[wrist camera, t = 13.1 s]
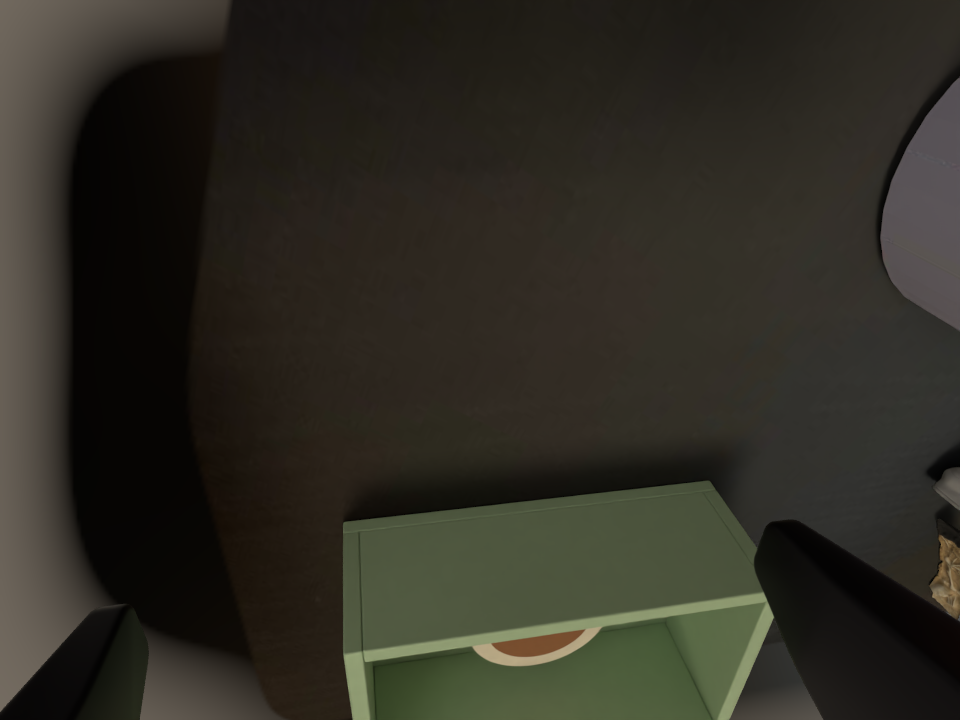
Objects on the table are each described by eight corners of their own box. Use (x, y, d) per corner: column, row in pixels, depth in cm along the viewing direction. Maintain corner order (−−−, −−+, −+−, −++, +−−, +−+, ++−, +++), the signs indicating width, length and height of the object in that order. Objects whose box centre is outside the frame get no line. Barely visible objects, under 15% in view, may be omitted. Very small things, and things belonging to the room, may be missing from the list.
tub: (360, 663, 29) (364, 797, 25) (342, 521, 24) (343, 654, 20) (669, 617, 32) (725, 730, 27) (709, 479, 27) (786, 589, 22)
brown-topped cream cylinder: (442, 625, 28) (447, 665, 26) (490, 529, 25) (500, 567, 24) (562, 634, 30) (574, 671, 28) (619, 545, 27) (636, 581, 26)
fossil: (946, 506, 31) (932, 515, 31) (983, 534, 30) (968, 542, 29) (937, 593, 36) (924, 600, 35) (969, 620, 34) (956, 628, 34)
